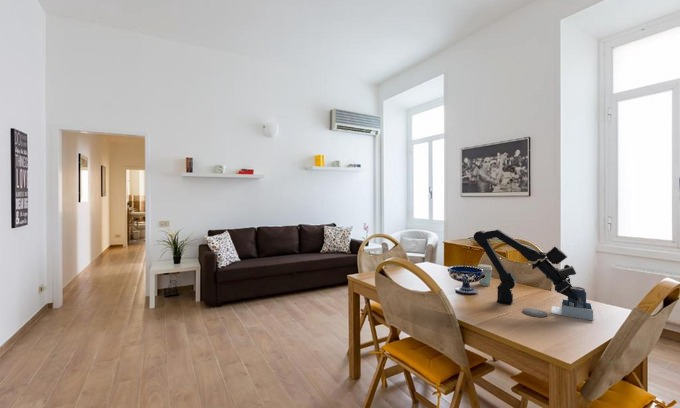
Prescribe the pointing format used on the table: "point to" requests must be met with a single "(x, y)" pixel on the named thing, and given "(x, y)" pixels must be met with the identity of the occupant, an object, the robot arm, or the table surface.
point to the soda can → (581, 296)
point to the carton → (574, 311)
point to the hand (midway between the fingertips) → (577, 297)
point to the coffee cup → (486, 274)
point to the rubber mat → (534, 312)
